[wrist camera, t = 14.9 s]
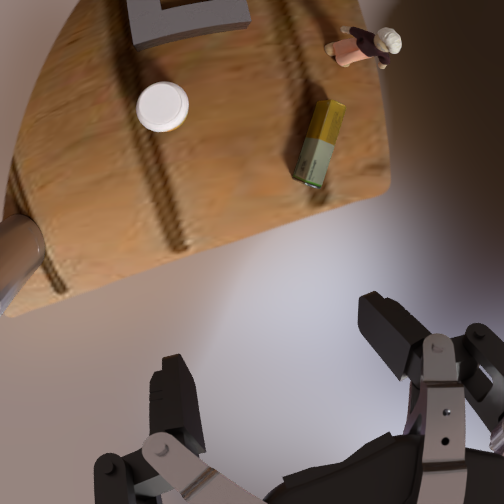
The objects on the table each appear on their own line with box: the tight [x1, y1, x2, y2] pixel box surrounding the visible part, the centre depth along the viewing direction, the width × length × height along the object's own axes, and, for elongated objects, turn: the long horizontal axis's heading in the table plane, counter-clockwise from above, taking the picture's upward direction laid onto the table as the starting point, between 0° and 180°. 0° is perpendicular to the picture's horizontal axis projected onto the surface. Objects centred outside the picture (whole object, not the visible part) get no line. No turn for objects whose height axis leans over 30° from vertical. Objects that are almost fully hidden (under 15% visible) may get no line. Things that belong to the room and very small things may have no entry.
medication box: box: [293, 99, 346, 189], centre depth 35 cm, size 12×3×4 cm, turn 163°
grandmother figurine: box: [325, 26, 401, 69], centre depth 26 cm, size 8×4×13 cm, turn 66°
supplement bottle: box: [136, 82, 189, 132], centre depth 26 cm, size 5×5×10 cm
